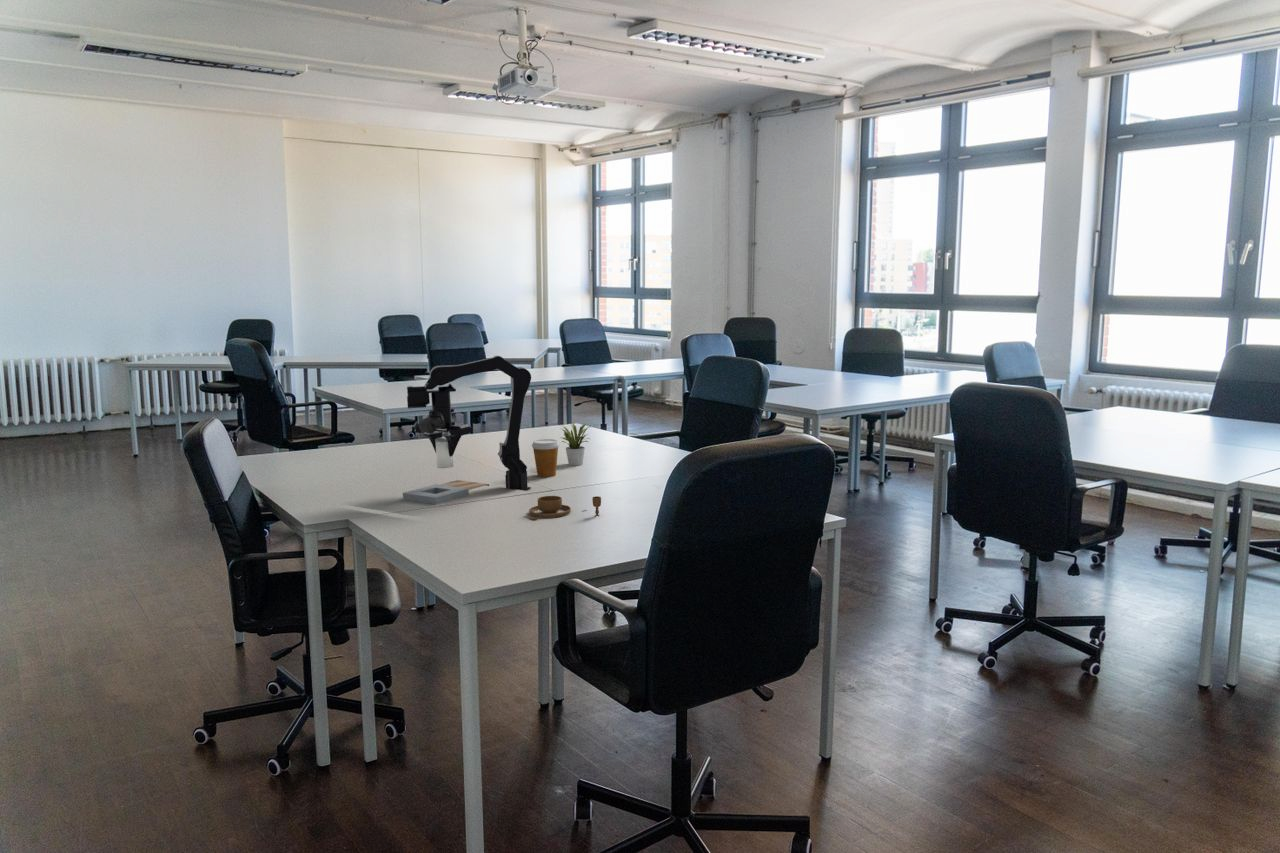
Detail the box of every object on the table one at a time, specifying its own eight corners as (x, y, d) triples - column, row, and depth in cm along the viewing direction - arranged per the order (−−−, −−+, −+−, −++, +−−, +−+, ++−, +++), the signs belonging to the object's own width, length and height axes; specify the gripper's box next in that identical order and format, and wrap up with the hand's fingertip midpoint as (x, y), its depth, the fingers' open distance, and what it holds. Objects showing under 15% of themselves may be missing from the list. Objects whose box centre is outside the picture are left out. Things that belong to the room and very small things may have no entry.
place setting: (561, 506, 272) (561, 486, 271) (605, 517, 257) (605, 496, 256) (513, 516, 260) (512, 496, 259) (556, 529, 245) (556, 507, 244)
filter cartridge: (457, 465, 286) (455, 437, 284) (445, 468, 281) (443, 440, 280) (444, 464, 289) (443, 436, 287) (433, 467, 284) (431, 439, 283)
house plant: (601, 460, 340) (600, 417, 338) (595, 467, 326) (594, 422, 324) (563, 460, 342) (562, 417, 339) (556, 467, 328) (555, 422, 325)
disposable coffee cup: (529, 474, 317) (527, 440, 315) (555, 471, 321) (553, 438, 319) (537, 479, 308) (536, 444, 307) (564, 476, 312) (563, 442, 310)
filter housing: (468, 498, 282) (468, 488, 282) (436, 507, 270) (436, 497, 270) (436, 493, 289) (435, 484, 289) (403, 502, 278) (402, 492, 277)
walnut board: (489, 487, 297) (489, 484, 297) (459, 495, 286) (459, 492, 285) (457, 482, 305) (457, 480, 304) (427, 491, 293) (427, 488, 293)
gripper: (400, 408, 280) (404, 458, 282) (446, 411, 271) (449, 462, 273) (426, 404, 289) (429, 452, 292) (471, 406, 280) (474, 456, 282)
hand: (444, 455), depth 285 cm, fingers closed on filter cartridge, 5 cm apart
